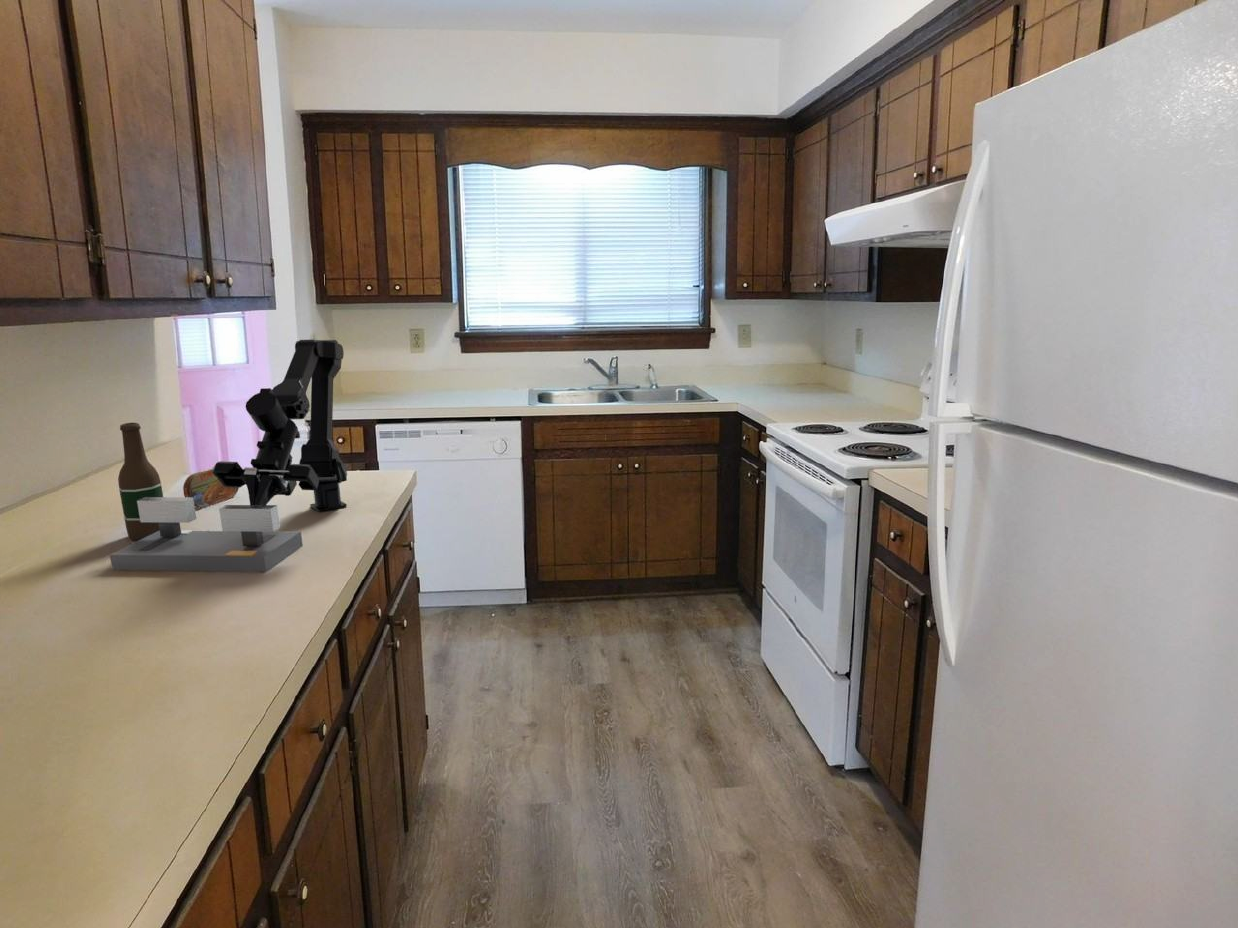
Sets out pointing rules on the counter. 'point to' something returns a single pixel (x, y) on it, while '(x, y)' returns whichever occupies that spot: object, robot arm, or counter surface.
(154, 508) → the switch
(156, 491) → the beer bottle
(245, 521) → the switch
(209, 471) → the tin
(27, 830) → the counter surface
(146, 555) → the switch panel
